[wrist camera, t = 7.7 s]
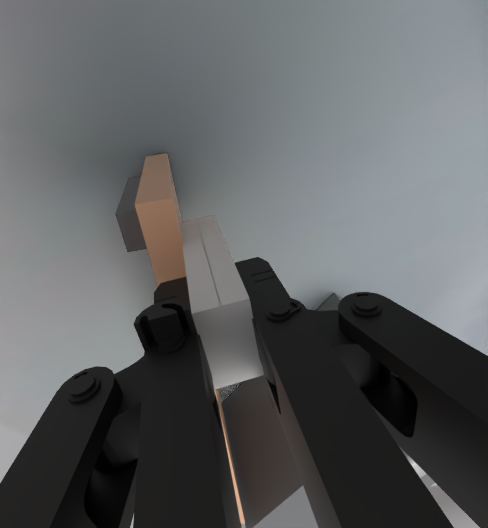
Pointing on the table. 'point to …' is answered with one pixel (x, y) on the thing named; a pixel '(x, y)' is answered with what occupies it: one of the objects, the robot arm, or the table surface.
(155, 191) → the side door
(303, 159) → the table surface
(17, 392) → the table surface
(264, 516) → the block
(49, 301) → the table surface
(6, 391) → the table surface
